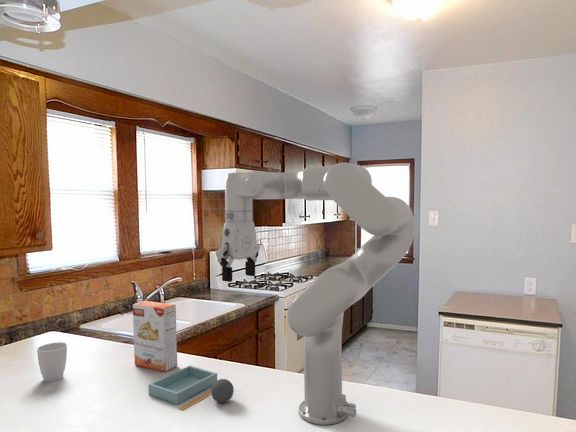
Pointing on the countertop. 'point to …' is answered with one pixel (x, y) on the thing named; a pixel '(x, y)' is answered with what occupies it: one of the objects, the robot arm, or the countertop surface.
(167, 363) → the cracker box
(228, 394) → the ball
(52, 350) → the cup
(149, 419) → the countertop surface
